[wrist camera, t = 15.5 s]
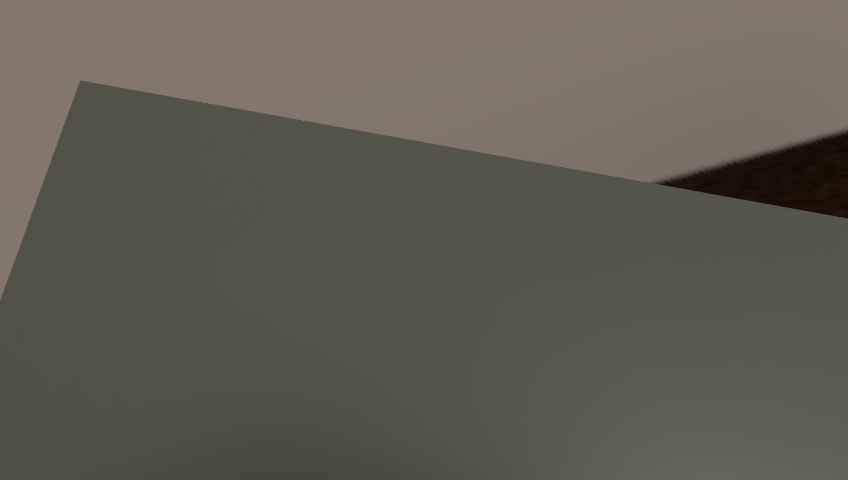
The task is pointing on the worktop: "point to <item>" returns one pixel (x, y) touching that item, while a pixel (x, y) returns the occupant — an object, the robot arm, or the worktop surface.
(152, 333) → the sage tin
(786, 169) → the worktop surface
